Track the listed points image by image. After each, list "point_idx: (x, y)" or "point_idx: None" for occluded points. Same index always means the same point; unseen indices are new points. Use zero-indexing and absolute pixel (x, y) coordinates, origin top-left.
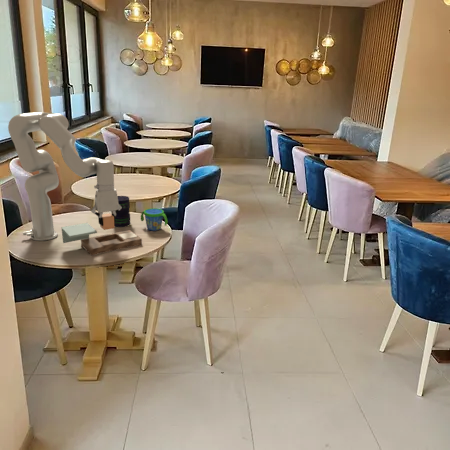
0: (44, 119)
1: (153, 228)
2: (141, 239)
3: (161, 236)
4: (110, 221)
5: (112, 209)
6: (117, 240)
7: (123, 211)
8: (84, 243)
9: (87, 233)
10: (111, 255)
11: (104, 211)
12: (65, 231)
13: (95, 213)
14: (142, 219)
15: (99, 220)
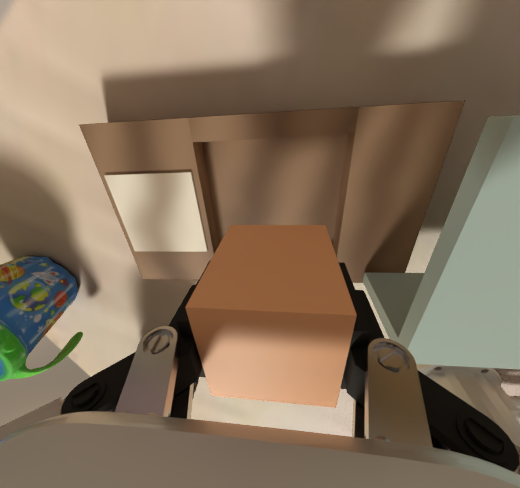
0: None
1: (38, 264)
2: (83, 124)
3: (4, 183)
4: (252, 266)
5: (130, 472)
6: (225, 221)
7: None
8: (416, 231)
9: None
10: (330, 20)
11: (386, 466)
12: None
13: (513, 454)
14: (74, 338)
15: (372, 320)
